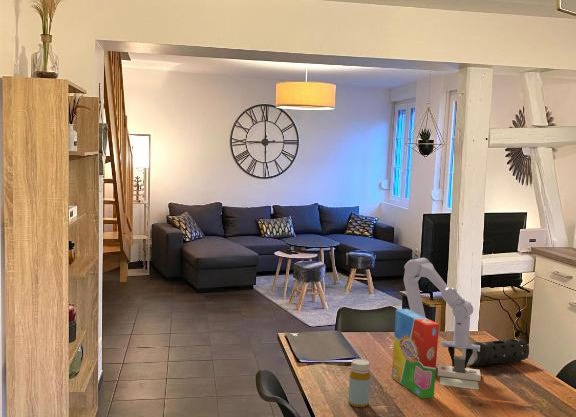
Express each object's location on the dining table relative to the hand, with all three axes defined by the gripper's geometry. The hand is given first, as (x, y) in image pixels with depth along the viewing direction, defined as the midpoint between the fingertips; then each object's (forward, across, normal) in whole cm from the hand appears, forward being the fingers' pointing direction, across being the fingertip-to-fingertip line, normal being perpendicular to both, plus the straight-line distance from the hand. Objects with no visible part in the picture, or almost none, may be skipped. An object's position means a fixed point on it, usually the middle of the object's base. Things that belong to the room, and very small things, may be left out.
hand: (459, 366), depth 239 cm
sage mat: (+4, 0, -9) cm, 10 cm away
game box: (+4, -17, -18) cm, 25 cm away
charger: (+3, 0, 0) cm, 3 cm away
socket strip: (+4, 0, 0) cm, 4 cm away
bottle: (+4, -34, -40) cm, 53 cm away
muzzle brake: (+4, +15, +20) cm, 25 cm away
